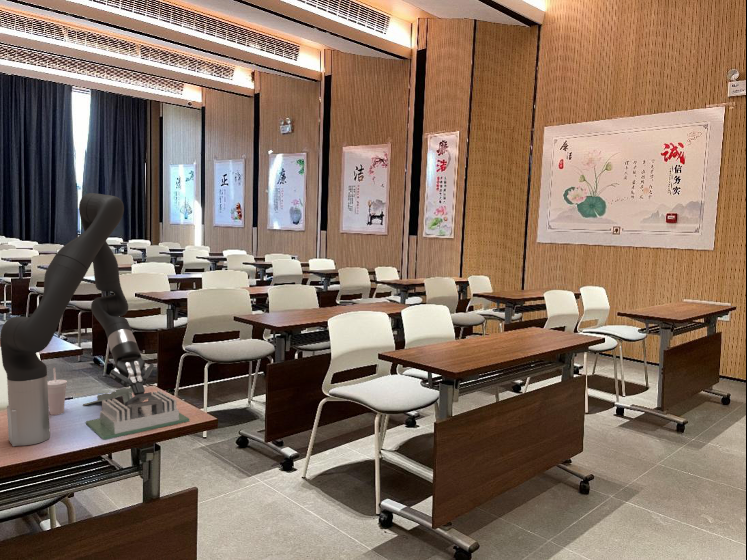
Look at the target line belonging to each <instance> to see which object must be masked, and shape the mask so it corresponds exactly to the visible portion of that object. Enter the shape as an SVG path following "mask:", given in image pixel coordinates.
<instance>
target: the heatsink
mask: <svg viewBox="0 0 747 560" xmlns="http://www.w3.org/2000/svg"><path fill="white" fill-rule="evenodd" d="M149 392H150V391H149ZM149 392H147V393H149ZM151 394H152V396H150V397H149V398H147V401H143V402H141V403H136V404H131V405H127V406H125V405H124V403H122V402H120V401H119V400H118V399H116V398H113V399H109V400H103V401H101V409H102V410H100V411H99V418H95V419H91V420H85V424H86V426H87V427H88V428H90V429H91V430H92V431H93V432H94V433H95V434H96V435H97V436H99V437H100V438H101V439H102V440H103V441H104V440H105V441H106V440H110V439H113V438H119V437H123V436H127V435H128V434H129V435H132V434H133V435H134V434H137V433H142V432H147V431H152V430H156V429H160V428H164V427H165V428H166V427H169V426H173V425H174V424H175V425H178V423H179V424H183V423H182V422H184V423H187V422H190V418H189V417H188V416H186V415H184V414H182V413H181V412H180V410H179V409H178V406H177V399H175V398H174V397H172V396H170V395H168V394H167V393H164V392H163V391H161V390H157V391H155V390H154V391H152V392H151Z"/></svg>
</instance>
